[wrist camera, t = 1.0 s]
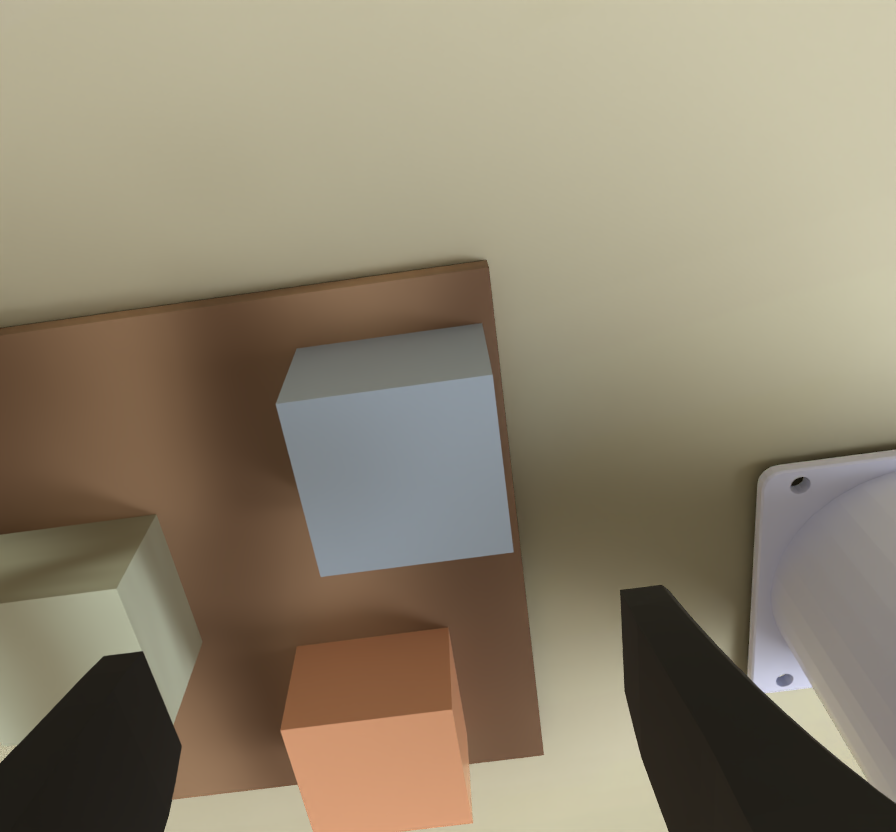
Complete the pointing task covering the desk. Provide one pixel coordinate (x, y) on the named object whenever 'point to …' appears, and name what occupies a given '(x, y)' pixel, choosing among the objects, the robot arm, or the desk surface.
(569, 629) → the desk surface
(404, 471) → the brick slate
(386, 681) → the brick terracotta
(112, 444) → the build board
